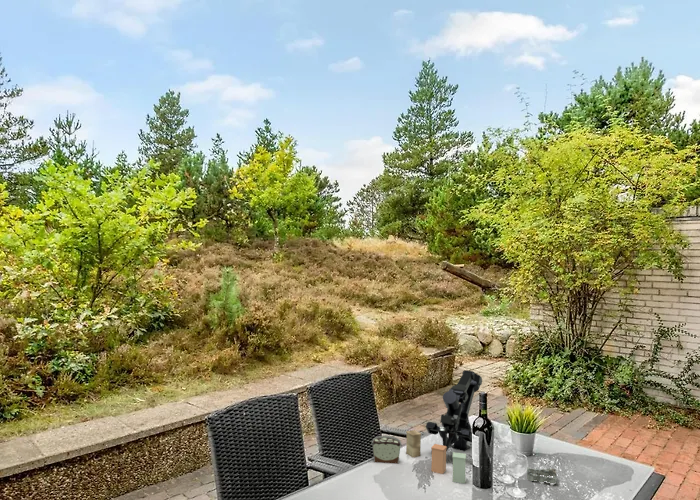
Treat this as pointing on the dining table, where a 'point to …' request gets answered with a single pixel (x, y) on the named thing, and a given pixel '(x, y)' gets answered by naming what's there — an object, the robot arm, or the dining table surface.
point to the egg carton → (535, 474)
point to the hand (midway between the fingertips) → (444, 451)
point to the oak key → (413, 443)
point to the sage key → (459, 467)
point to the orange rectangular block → (438, 458)
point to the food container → (386, 449)
